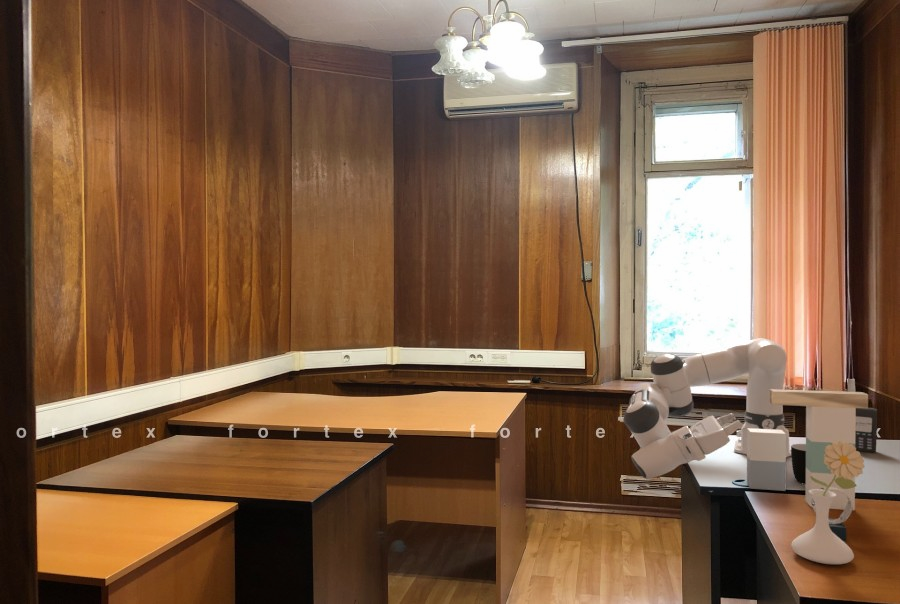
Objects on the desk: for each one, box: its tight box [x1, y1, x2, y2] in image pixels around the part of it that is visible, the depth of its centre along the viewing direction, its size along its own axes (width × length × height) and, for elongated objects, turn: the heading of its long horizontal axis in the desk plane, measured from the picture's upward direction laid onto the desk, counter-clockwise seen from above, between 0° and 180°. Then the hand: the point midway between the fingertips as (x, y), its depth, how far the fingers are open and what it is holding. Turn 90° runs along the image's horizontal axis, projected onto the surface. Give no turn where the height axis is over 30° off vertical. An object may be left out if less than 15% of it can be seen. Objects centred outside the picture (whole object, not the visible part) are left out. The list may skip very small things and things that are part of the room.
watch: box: [811, 487, 854, 543], centre depth 147 cm, size 6×8×11 cm
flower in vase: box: [790, 440, 865, 565], centre depth 134 cm, size 13×11×25 cm
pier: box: [746, 428, 787, 492], centre depth 183 cm, size 5×9×16 cm, turn 75°
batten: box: [770, 389, 869, 408], centre depth 167 cm, size 4×22×4 cm, turn 75°
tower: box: [805, 406, 856, 511], centre depth 167 cm, size 5×10×26 cm, turn 75°
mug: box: [790, 443, 806, 485], centre depth 189 cm, size 12×9×10 cm
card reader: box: [855, 407, 878, 454], centre depth 222 cm, size 9×4×15 cm, turn 57°
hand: (737, 419), depth 172 cm, fingers open, 8 cm apart
